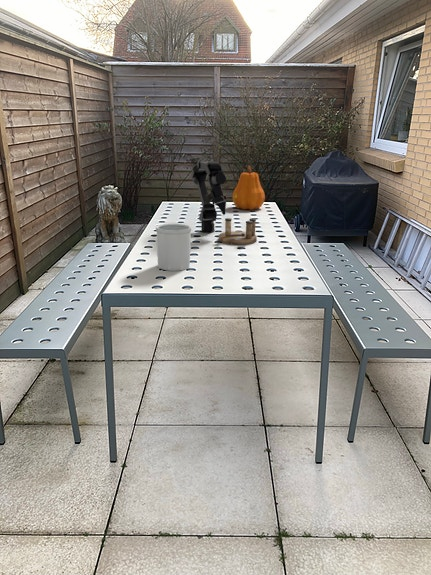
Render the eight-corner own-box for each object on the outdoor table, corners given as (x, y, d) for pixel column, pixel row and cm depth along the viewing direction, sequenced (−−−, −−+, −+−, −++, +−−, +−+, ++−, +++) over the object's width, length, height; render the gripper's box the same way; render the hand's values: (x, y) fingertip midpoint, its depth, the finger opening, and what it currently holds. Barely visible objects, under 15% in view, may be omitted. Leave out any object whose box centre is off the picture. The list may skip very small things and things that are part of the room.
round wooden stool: (211, 238, 249) (211, 217, 245) (240, 234, 260) (241, 214, 256) (234, 246, 233) (234, 224, 230) (264, 241, 244) (265, 220, 241)
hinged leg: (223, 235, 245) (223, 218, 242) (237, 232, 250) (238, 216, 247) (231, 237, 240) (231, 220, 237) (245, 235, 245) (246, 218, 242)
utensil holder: (173, 259, 211) (173, 221, 205) (198, 265, 202) (198, 226, 196) (149, 266, 200) (148, 226, 194) (174, 273, 191) (173, 232, 185)
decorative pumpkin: (228, 205, 345) (229, 164, 335) (259, 205, 350) (261, 164, 339) (235, 211, 324) (236, 167, 314) (268, 210, 328) (270, 167, 318)
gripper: (203, 190, 257) (212, 217, 260) (198, 191, 239) (207, 220, 242) (222, 184, 255) (231, 211, 258) (219, 185, 237) (228, 214, 240)
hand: (224, 214), depth 250 cm, fingers closed
